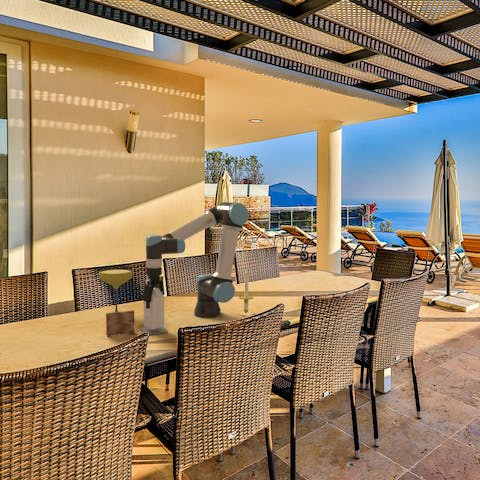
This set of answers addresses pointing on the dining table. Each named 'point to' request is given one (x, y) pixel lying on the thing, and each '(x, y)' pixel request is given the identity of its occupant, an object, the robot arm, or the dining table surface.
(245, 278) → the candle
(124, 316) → the brown upright block
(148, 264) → the robot arm
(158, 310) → the milk carton
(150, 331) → the coaster
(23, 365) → the dining table surface
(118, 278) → the cocktail glass
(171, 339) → the dining table surface
